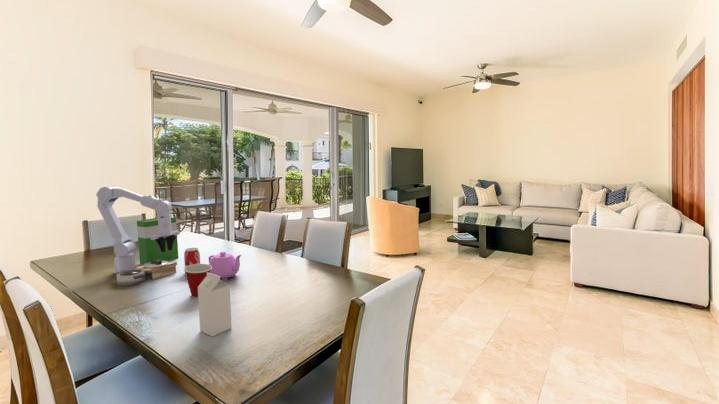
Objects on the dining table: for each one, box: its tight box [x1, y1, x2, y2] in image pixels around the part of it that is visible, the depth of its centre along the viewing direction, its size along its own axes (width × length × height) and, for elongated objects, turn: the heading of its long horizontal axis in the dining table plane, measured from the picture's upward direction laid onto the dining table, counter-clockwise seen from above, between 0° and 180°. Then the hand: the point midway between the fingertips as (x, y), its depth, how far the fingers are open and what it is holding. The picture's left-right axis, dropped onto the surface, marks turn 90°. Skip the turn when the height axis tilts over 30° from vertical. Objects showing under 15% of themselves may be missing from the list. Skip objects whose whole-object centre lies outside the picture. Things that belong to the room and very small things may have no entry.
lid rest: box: [135, 259, 178, 280], centre depth 174 cm, size 13×13×5 cm
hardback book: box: [136, 216, 179, 265], centre depth 197 cm, size 18×7×24 cm, turn 151°
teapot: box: [208, 251, 242, 282], centre depth 168 cm, size 20×14×12 cm
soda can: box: [183, 247, 201, 267], centre depth 176 cm, size 7×7×12 cm
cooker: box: [115, 269, 147, 287], centre depth 163 cm, size 15×11×4 cm
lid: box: [144, 260, 169, 268], centre depth 174 cm, size 11×11×2 cm
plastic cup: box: [183, 263, 212, 298], centre depth 146 cm, size 11×11×12 cm
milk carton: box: [197, 272, 233, 338], centre depth 115 cm, size 7×7×19 cm
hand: (166, 250), depth 178 cm, fingers open, 3 cm apart
